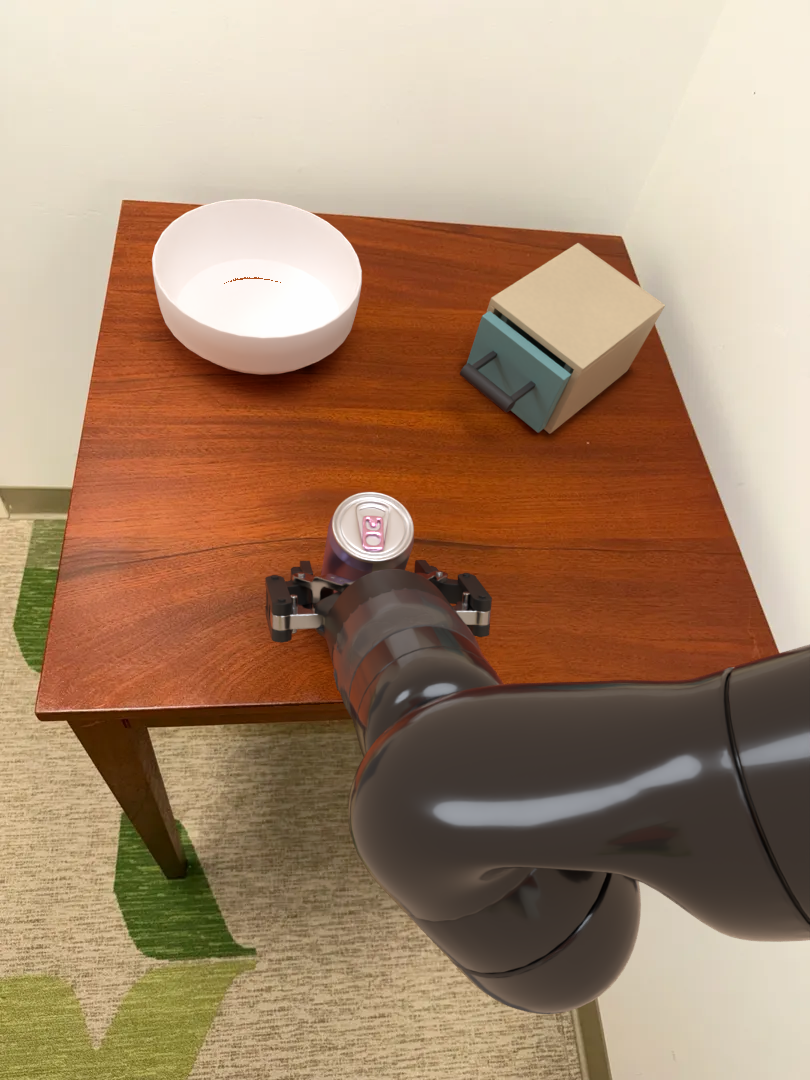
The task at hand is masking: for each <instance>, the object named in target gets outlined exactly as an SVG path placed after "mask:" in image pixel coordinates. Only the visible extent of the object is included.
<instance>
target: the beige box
mask: <svg viewBox="0 0 810 1080" xmlns="http://www.w3.org/2000/svg"><path fill="white" fill-rule="evenodd" d="M665 307H666V304H664V303H663V302H662V301H660V300H659V299H657V298H656V296H654V295H652V294H651V293H649V292H648V291H646V290H645V289H644V288H642V287H641V286H639V285H638V284H637V283H635V282H634V281H633V280H631V279H630V278H628V277H627V276H626V275H624V274H623V273H622V272H620V271H619V270H617V269H616V268H615V267H613V266H612V265H610V264H609V263H607V261H605V260H603V259H601V258H600V257H599V256H598V255H596V254H595V253H593V252H592V251H590V249H588V248H587V247H586V246H584V245H582V244H581V243H580V242H577V243H575V244H573V245H572V246H571V247H569V248H567V249H566V250H564V251H563V252H561V253H560V254H558V255H557V256H555V257H553V258H552V259H550V260H548V261H546V262H545V263H544V264H542V265H540V266H539V267H537V268H535V269H534V270H533V271H531V272H529V273H528V274H526V275H525V276H523V277H521V278H520V279H519V280H517V281H515V282H514V283H512V284H511V285H509V286H507V287H506V288H504V289H503V290H501V291H500V292H498V293H496V294H495V295H493V296H492V297H490V299H489V303H488V306H487V309H486V312H485V314H486V313H487V312H489V311H491V312H492V313H493V314H494V315H496V316H497V317H498V318H499V319H501V316H502V314H503V315H504V316H506V317H507V318H508V319H509V320H511V321H512V322H513V323H515V324H516V325H517V326H518V327H520V328H521V329H522V330H524V331H525V332H526V333H527V334H529V335H530V336H531V337H533V338H534V339H535V340H536V341H538V342H539V343H540V344H542V345H543V346H544V347H545V348H547V349H548V350H549V351H551V352H552V353H553V354H554V355H556V356H557V357H558V358H560V359H561V360H562V361H563V362H565V363H566V364H567V365H569V366H570V367H571V368H572V369H574V371H573V373H572V375H571V377H570V379H569V381H568V383H567V385H566V387H565V389H564V391H563V393H562V395H561V397H560V399H559V401H558V403H557V405H556V407H555V409H554V411H553V412H552V414H551V416H550V418H549V420H548V422H547V425H546V427H545V428H544V429H543V430H544V431H545V432H547V433H548V434H552V433H553V432H554V431H556V430H557V429H558V428H560V427H561V425H563V424H564V423H566V421H568V420H569V419H570V418H572V417H574V415H575V414H577V413H578V412H579V411H580V410H581V409H582V408H584V407H585V406H586V405H588V404H589V403H590V402H591V401H592V400H594V399H595V398H596V397H597V396H599V395H600V394H601V393H603V392H604V391H605V390H606V389H607V388H608V387H610V386H611V385H612V384H613V383H615V382H616V381H617V380H618V379H619V378H621V377H622V376H623V375H624V374H626V373H627V372H628V370H629V369H630V368H631V366H632V365H633V362H634V361H635V359H636V357H637V355H638V354H639V352H640V350H641V348H642V347H643V345H644V343H645V341H646V340H647V338H648V336H649V334H650V333H651V331H652V330H653V328H654V326H655V324H656V323H657V321H658V319H659V318H660V316H661V314H662V312H663V311H664V309H665Z"/></svg>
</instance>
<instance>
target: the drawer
mask: <svg viewBox="0 0 810 1080" xmlns="http://www.w3.org/2000/svg"><path fill="white" fill-rule="evenodd" d="M486 312H487V311H486ZM486 312H485V313H484V314H483V315H481V318H480V321H479V324H478V327H477V330H476V334H475V337H474V340H473V343H472V346H471V349H470V352H469V355H468V358H467V361H466V364H464V366H463V367H462V368H461V369H460V372H459V376H461V377H462V378H463V379H464V380H465V381H467V382H468V383H469V384H470V385H472V386H473V387H474V388H475V389H476V390H478V391H479V392H480V393H481V394H483V395H484V396H485V397H486V398H487V399H488V400H490V401H491V402H492V403H493V404H495V405H496V406H497V407H498V408H499V409H500V410H502V411H503V412H505V414H506V413H509V412H510V411H511V412H512V413H513V414H515V415H516V416H517V417H518V419H520V420H522V421H523V422H524V423H525V424H527V425H528V426H529V428H531V429H533V431H535V432H536V433H538V434H539V433H540V432H541V431H543V430H544V428H545V427H546V425H547V422H548V420H549V418H550V416H551V414H552V412H553V411H554V409H555V407H556V405H557V403H558V401H559V399H560V397H561V395H562V393H563V391H564V389H565V387H566V385H567V383H568V381H569V379H570V377H571V375H572V373H573V371H574V369H572V368H571V367H570V366H569V365H567V364H566V363H565V362H563V361H562V360H561V359H560V358H558V357H557V356H556V355H554V354H553V353H552V352H551V351H549V350H548V349H547V348H545V347H544V346H543V345H542V344H540V343H539V342H538V341H536V340H535V339H534V338H533V337H531V336H530V335H529V334H527V333H526V332H525V331H524V330H522V329H521V328H520V327H518V326H517V325H516V324H515V323H513V322H512V321H511V320H509V319H508V318H507V317H506V316H504V315H503V314H502V316H501V319H499V318H498V317H497V316H496V315H494V314H493V313H492V312H491V311H489V312H487V313H486Z"/></svg>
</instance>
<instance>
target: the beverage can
mask: <svg viewBox="0 0 810 1080" xmlns="http://www.w3.org/2000/svg"><path fill="white" fill-rule="evenodd" d="M414 534H415V526H414V522H413V519H412V516H411V513H410V512H409V510H408V509H407V508H406V507H405V506H404V504H402V503H401V502H400V501H399V500H397V499H396V498H394V497H392V496H391V495H388V494H385V493H381V492H377V491H363V492H358V493H355V494H353V495H350V496H348V497H346V498H345V499H343V500H342V502H341V503H339V505H338V506H337V507H336V509H335V511H334V513H333V515H332V516H331V518H330V520H329V523H328V527H327V534H326V540H325V545H324V547H325V548H324V552H323V553H324V554H323V561H322V566H321V574H320V576H322V575H326V574H334V575H337V576H340V577H343V578H346V579H350V580H353V581H355V580H358V579H359V578H361V577H363V576H365V575H367V574H370V573H373V572H376V571H380V570H387V569H399V570H406V569H407V566H408V562H409V560H410V557H411V554H412V551H413V547H414V543H415V535H414ZM336 592H338V591H335V590H334V593H336ZM323 638H324V639H325V640H326V638H325V637H323Z"/></svg>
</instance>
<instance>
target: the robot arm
mask: <svg viewBox="0 0 810 1080" xmlns="http://www.w3.org/2000/svg"><path fill="white" fill-rule="evenodd" d="M448 577H449V573H448V572H445V571H443V570H439V569H438V568H437V567H436V566H434V565H430V564H429V562H428V561H427V560H426V559H415V561H414V571H410V570H406V569H405V570H399V569H387V570H380V571H376V572H373V573H370V574H367V575H365V576H363V577H361V578H359V579H358V580H355V581H353V580H350V579H346V578H343V577H340V576H337V575H334V574H326V575H322V576H321V575H318V576H317V575H314V572H313V568H312V564H311V561H310V560H299V566H292V567H290V579H289V580H286V579H285V578H284V576H282V575H278V574H272V575H269V576H266V577H265V580H264V581H265V582H264V585H265V607H264V610H265V611H264V612H265V613H264V614H265V617H266V618H265V619H266V622H267V626H268V629H269V630H268V631H269V635H270V639H271V641H273V642H275V643H281V644H282V643H287V642H290V641H292V637H293V635H294V634H297V633H298V630H310V629H314V630H315V632H316V633H317V634H318V636H321V637H323V638H324V637H325V638H326V639H325V638H324V639H325V640H326V644H327V648H328V652H329V656H330V659H331V664H332V667H333V673H332V675H333V678H334V682H335V685H336V690H337V691H338V692H339V695H340V696H341V697H340V698H341V700H342V702H343V705H344V707H345V709H346V711H347V713H348V715H349V717H350V718H351V720H352V724H353V727H354V731H355V734H356V738H357V742H358V745H359V748H360V751H361V755H362V757H363V758H362V759H361V761H360V763H359V764H358V767H357V769H356V772H355V774H354V777H353V780H352V783H351V786H350V789H349V794H348V801H347V822H348V823H347V825H348V830H349V834H350V838H351V842H352V844H353V846H354V849H355V851H356V854H357V856H358V858H359V860H360V861H361V863H362V864H363V866H364V867H365V869H366V870H367V872H368V874H369V875H370V876H371V878H372V879H373V880H374V881H375V883H376V884H377V885H378V886H379V887H380V888H381V889H382V890H383V891H384V892H385V893H386V895H388V896H389V898H390V899H391V900H392V901H393V902H395V904H396V905H397V906H398V907H399V908H400V909H401V910H402V911H403V912H404V913H405V914H406V915H407V916H408V917H409V918H410V919H411V920H412V922H413V923H415V925H416V926H418V928H419V929H420V930H421V931H422V932H423V933H424V935H426V936H427V937H428V938H429V939H430V941H432V943H434V945H435V946H436V947H437V948H438V949H439V950H440V951H441V952H442V953H443V954H444V955H445V956H446V957H447V958H448V959H449V961H450V962H451V963H452V964H453V965H454V966H455V967H456V968H457V969H458V970H459V972H461V973H462V974H463V975H464V976H465V977H466V979H467V980H469V981H470V983H472V984H473V985H474V986H475V987H477V989H479V990H480V991H481V992H483V993H484V994H486V995H487V996H489V997H490V998H492V999H493V1000H495V1001H496V1002H499V1003H501V1004H503V1005H504V1006H506V1007H510V1008H512V1009H515V1010H518V1011H522V1012H525V1013H530V1014H535V1015H536V1014H537V1015H553V1014H554V1015H555V1014H562V1013H566V1012H571V1011H573V1010H577V1009H579V1008H581V1007H583V1006H585V1005H588V1004H590V1003H592V1002H593V1001H595V1000H596V999H598V998H600V996H601V995H603V994H604V993H605V992H606V991H608V990H609V989H610V988H611V987H612V986H613V985H614V983H615V982H616V981H617V980H618V979H619V977H620V976H621V974H622V973H623V972H624V970H625V968H626V966H627V965H628V963H629V961H630V959H631V956H632V954H633V951H634V949H635V947H636V942H637V939H638V936H639V935H638V934H639V929H640V923H641V911H642V902H641V901H642V898H641V888H640V883H642V884H644V885H646V886H648V887H649V888H651V889H652V890H654V891H657V892H658V893H659V894H661V895H663V896H664V897H665V898H667V899H668V900H670V901H671V902H672V903H674V904H676V905H677V906H679V908H681V909H683V910H684V911H685V912H686V913H688V914H689V915H691V916H693V917H694V918H695V919H696V920H698V921H699V922H701V923H702V924H704V925H706V926H707V927H709V928H711V929H713V930H714V931H716V932H718V933H719V934H722V935H723V936H724V935H725V936H728V937H730V938H734V939H738V940H741V941H742V940H743V941H749V942H759V943H761V942H762V943H787V942H803V941H804V942H806V941H810V644H806V645H803V646H800V647H795V648H792V649H789V650H785V651H782V652H778V653H775V654H771V655H768V656H765V657H762V658H758V659H754V660H750V661H748V662H744V663H740V664H737V665H735V666H733V667H732V666H729V667H726V668H722V669H720V670H715V671H713V672H710V673H706V674H704V675H700V676H697V677H693V678H687V679H685V678H684V679H665V680H663V679H661V680H659V679H656V680H651V679H650V680H649V679H643V680H642V679H613V680H611V679H610V680H594V681H593V680H592V681H591V680H590V681H557V682H556V681H554V682H518V683H517V682H515V683H504V682H503V680H502V678H501V676H500V675H499V674H498V673H497V671H496V670H495V668H494V667H493V666H492V665H491V664H490V662H489V661H488V659H487V658H486V657H485V655H484V654H483V652H482V650H481V647H480V645H479V643H478V641H477V638H476V637H478V638H485V637H489V636H490V630H491V629H490V628H491V615H492V603H493V597H492V596H491V595H490V593H489V592H488V591H487V589H486V588H485V587H484V585H483V584H482V583H481V581H480V580H479V579H478V578H477V576H476V575H474V574H472V573H470V572H463V573H458V574H457V579H455V578H454V579H453V578H448ZM334 590H335V591H338V592H336V593H334Z"/></svg>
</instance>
